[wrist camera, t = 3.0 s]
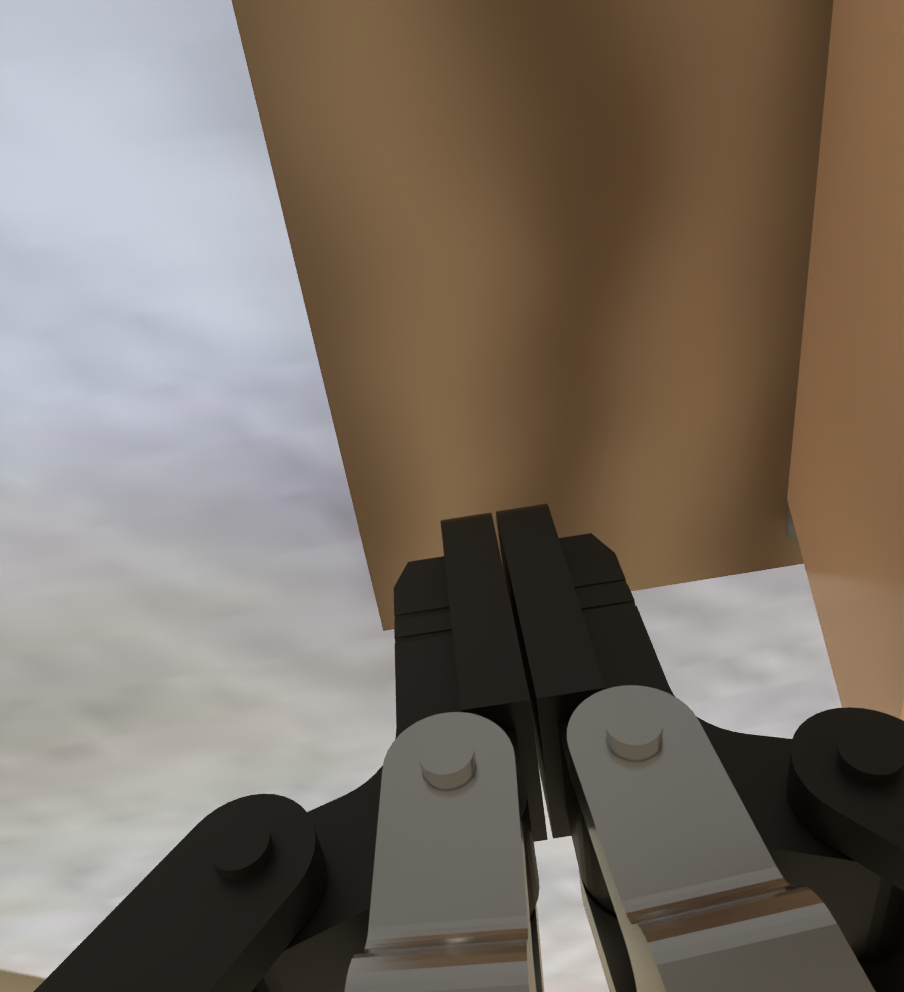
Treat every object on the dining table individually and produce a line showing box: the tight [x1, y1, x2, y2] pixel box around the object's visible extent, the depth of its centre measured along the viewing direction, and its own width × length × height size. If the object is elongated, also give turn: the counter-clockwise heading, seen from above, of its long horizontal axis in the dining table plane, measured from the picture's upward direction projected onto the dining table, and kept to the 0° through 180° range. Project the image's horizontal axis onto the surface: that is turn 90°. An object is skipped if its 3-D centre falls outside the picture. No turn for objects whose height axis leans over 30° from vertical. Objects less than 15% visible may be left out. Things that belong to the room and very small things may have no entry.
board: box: [232, 0, 834, 631], centre depth 20 cm, size 24×18×3 cm
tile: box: [787, 0, 904, 721], centre depth 15 cm, size 10×12×1 cm
